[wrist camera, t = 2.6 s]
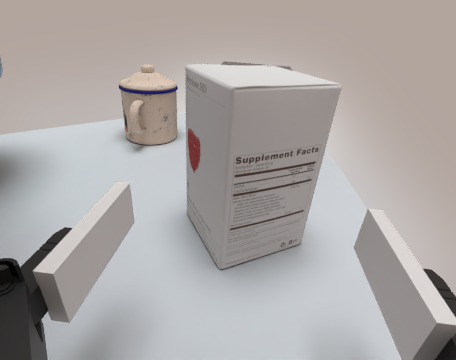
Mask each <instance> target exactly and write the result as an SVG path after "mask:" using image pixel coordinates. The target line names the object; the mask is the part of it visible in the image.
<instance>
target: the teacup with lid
mask: <svg viewBox="0 0 456 360" xmlns="http://www.w3.org/2000/svg"><path fill="white" fill-rule="evenodd" d="M119 89H121V96H122V104H123V113H124V121H125V130H126V137H127V138H128V139H129V140H130V141H132V142H134V143H138V144H144V145H157V144H164V143H168V142H170V141H172V140H174V139H175V138H176V137H177V106H176V105H177V104H176V90H177V89H178V88H177V85H176V83H175V82H174V81H173V80H170V79H167V78H165V77H164V76H163V75H161V74H160V73H157V72H154V66H152V65H142V66H141V72H138V73H135V74H134V75H132V76H131V77H129V78H126V79H123V80H121V81H120V83H119Z"/></svg>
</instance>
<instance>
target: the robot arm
mask: <svg viewBox="0 0 456 360" xmlns="http://www.w3.org/2000/svg"><path fill="white" fill-rule="evenodd" d="M1 75H2V64H1V59H0V77H1ZM133 224H134V215H133V207H132V199H131V190H130V183H125V182H116V183H115V184H114V185H113V186H112V187H111V188H110V189H109V190H108V191H107V192H106V193H105V194H104V195H103V196H102V198H101V199H100V200H99V201H98V202H97V203H96V204H95V205H94V206H93V207H92V208H91V209H90V210H89V211H88V213H87V214H86V215H85V216H84V217H83V218H82V219H81V220H80V221H79V222H78V223H77V224H76V225H75V226H74V227H73V228H66V227H65V228H63V229H62V230H60V231H58V232H56V233H55V234H53V235H52V236H51V237H50V238H49V239H48V240H47V241H46V243H45V244H43V245H42V246H41V247H40V248H39V250H37V251H36V252H35V253H34V254H33V255H32V256H31V257H30V258H29V259H28V260H27V261H26V262H25V263H24V264H23V265H22V266H21V267H19V264H18V262H17V261H16V260H14V259H12V258H3V259H0V360H48V359H47V351H46V343H45V335H44V328H43V323H42V320H41V319H42V318H43V317H44V315H45V314H46V313H47V311H48V313H49V315H50V318H51V320H53V321H61V322H68V323H70V321H71V320H72V318H73V317H74V315H75V314H76V312H77V310H78V309H79V307H80V306H81V304H82V303H83V301H84V300H85V298H86V297H87V295H88V293H89V292H90V290H91V289H92V287H93V286H94V284H95V283H96V281H97V279H98V278H99V276H100V275H101V273H102V272H103V270H104V269H105V267H106V266H107V264H108V262H109V261H110V259H111V258H112V256H113V255H114V253H115V252H116V250H117V249H118V247H119V245H120V244H121V242H122V241H123V239H124V238H125V236H126V235H127V233H128V231H129V230H130V228H131V227H132V225H133ZM354 249H355V252H356V254H357V256H358V259H359V261H360V263H361V266H362V268H363V270H364V273H365V275H366V277H367V280H368V282H369V284H370V287H371V289H372V291H373V294H374V296H375V298H376V301H377V303H378V305H379V308H380V310H381V312H382V315H383V317H384V319H385V322H386V324H387V326H388V329H389V331H390V333H391V335H392V338H393V340H394V342H395V345H396V347H397V349H398V352H399V354H400V356H401V359H402V360H456V297H455V295H454V294H453V292H451V290H450V288H449V287H448V286H447V284H446V283H445V281H444V280H443V279H442V278H441V277H440V276H438V275H437V274H436V273H435V272H434V271H432V270H429V269H422V267H421V266H420V264H419V263H418V262H417V260H416V258H415V257H414V255H413V254H412V252H411V251H410V249H409V248H408V246H407V245H406V244H405V242H404V241H403V239H402V238H401V236H400V235H399V233H398V232H397V230H396V229H395V228H394V226H393V224H392V223H391V221H390V220H389V219H388V217H387V216H386V214H385V213H384V211H383V210H378V209H368V210H367V213H366V215H365V218H364V221H363V224H362V226H361V229H360V232H359V234H358V237H357V240H356V243H355V245H354Z"/></svg>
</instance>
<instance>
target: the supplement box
mask: <svg viewBox="0 0 456 360" xmlns="http://www.w3.org/2000/svg"><path fill="white" fill-rule="evenodd" d="M185 68H186V159H187V214H188V215H189V217H190V219H191V221H192V222H193V224H194V226H195V228H196V230H197V231H198V233H199V235H200V237H201V238H202V240H203V242H204V243H205V245H206V247H207V249H208V251H209V252H210V254H211V256H212V257H213V259H214V261H215V263H216V264H217V266H218V267H219V269H225V268H228V267H231V266H234V265H237V264H240V263H243V262H246V261H249V260H252V259H255V258H259V257H262V256H265V255H268V254H271V253H274V252H277V251H280V250H283V249H286V248H289V247H292V246H295V245H298V244H301V241H302V237H303V233H304V229H305V225H306V221H307V217H308V213H309V210H310V206H311V202H312V198H313V194H314V190H315V186H316V182H317V178H318V175H319V171H320V167H321V163H322V159H323V155H324V151H325V148H326V144H327V140H328V136H329V132H330V128H331V124H332V121H333V117H334V113H335V109H336V105H337V102H338V98H339V95H340V91H341V88H342V86H341V85H340V84H339V83H335V82H332V81H328V80H324V79H320V78H317V77H313V76H310V75H307V74H303V73H300V72H295V71H291V70H288V69H284V68H280V67H277V66H273V65H253V66H244V65H213V64H194V65H186V67H185Z"/></svg>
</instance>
